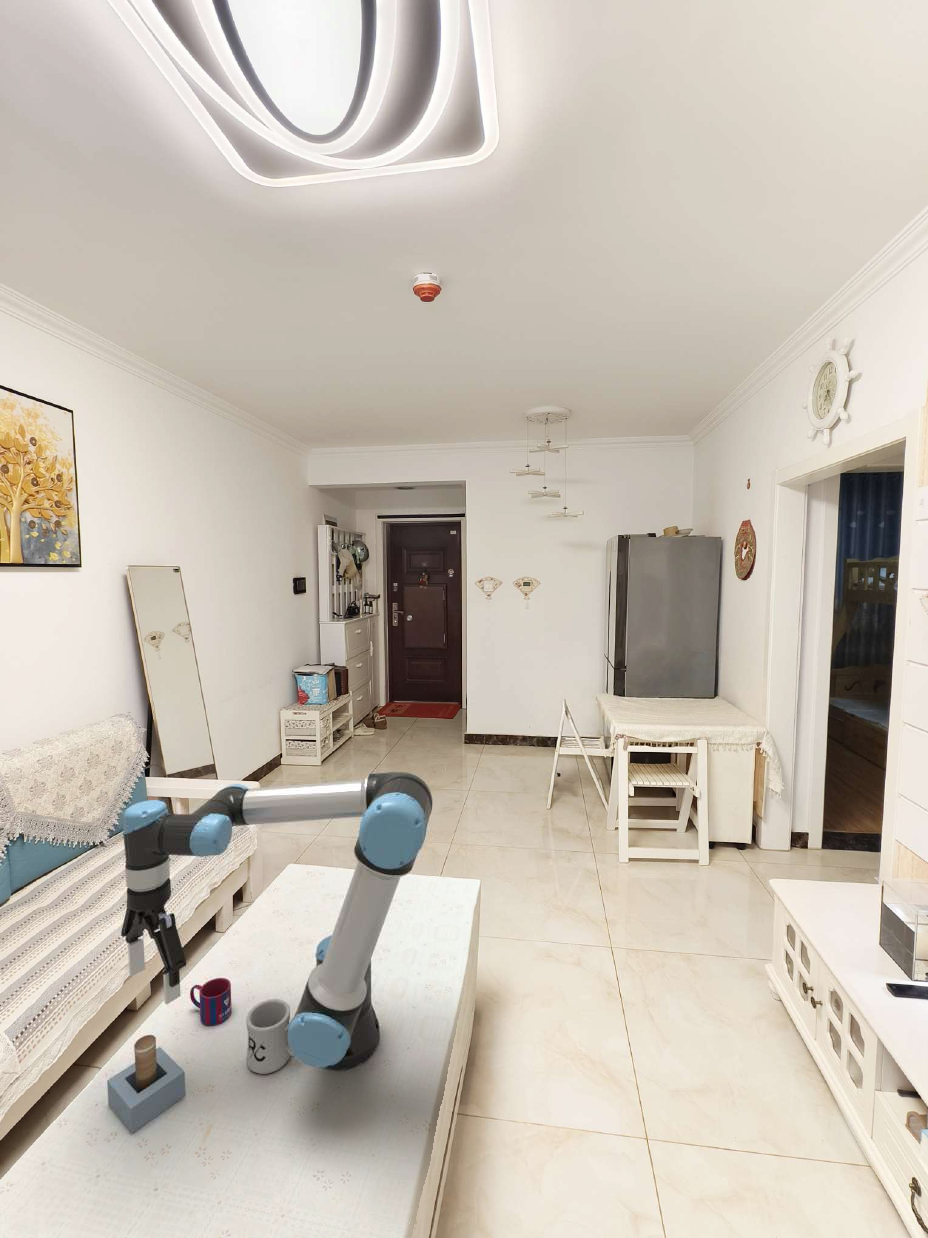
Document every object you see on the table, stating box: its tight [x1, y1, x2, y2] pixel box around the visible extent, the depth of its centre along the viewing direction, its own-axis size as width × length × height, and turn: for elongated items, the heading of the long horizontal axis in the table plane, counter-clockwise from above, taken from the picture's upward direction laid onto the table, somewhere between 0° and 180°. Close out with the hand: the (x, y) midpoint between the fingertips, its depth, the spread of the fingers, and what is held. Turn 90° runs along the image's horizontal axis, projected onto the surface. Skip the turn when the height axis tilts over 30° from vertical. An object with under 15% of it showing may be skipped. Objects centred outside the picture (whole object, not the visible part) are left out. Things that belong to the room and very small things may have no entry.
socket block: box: [106, 1046, 186, 1135], centre depth 113 cm, size 10×10×5 cm
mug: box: [245, 998, 296, 1075], centre depth 123 cm, size 12×9×10 cm
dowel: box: [133, 1034, 157, 1094], centre depth 113 cm, size 4×4×12 cm
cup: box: [189, 977, 232, 1027], centre depth 136 cm, size 7×10×7 cm
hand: (154, 985), depth 115 cm, fingers open, 13 cm apart
